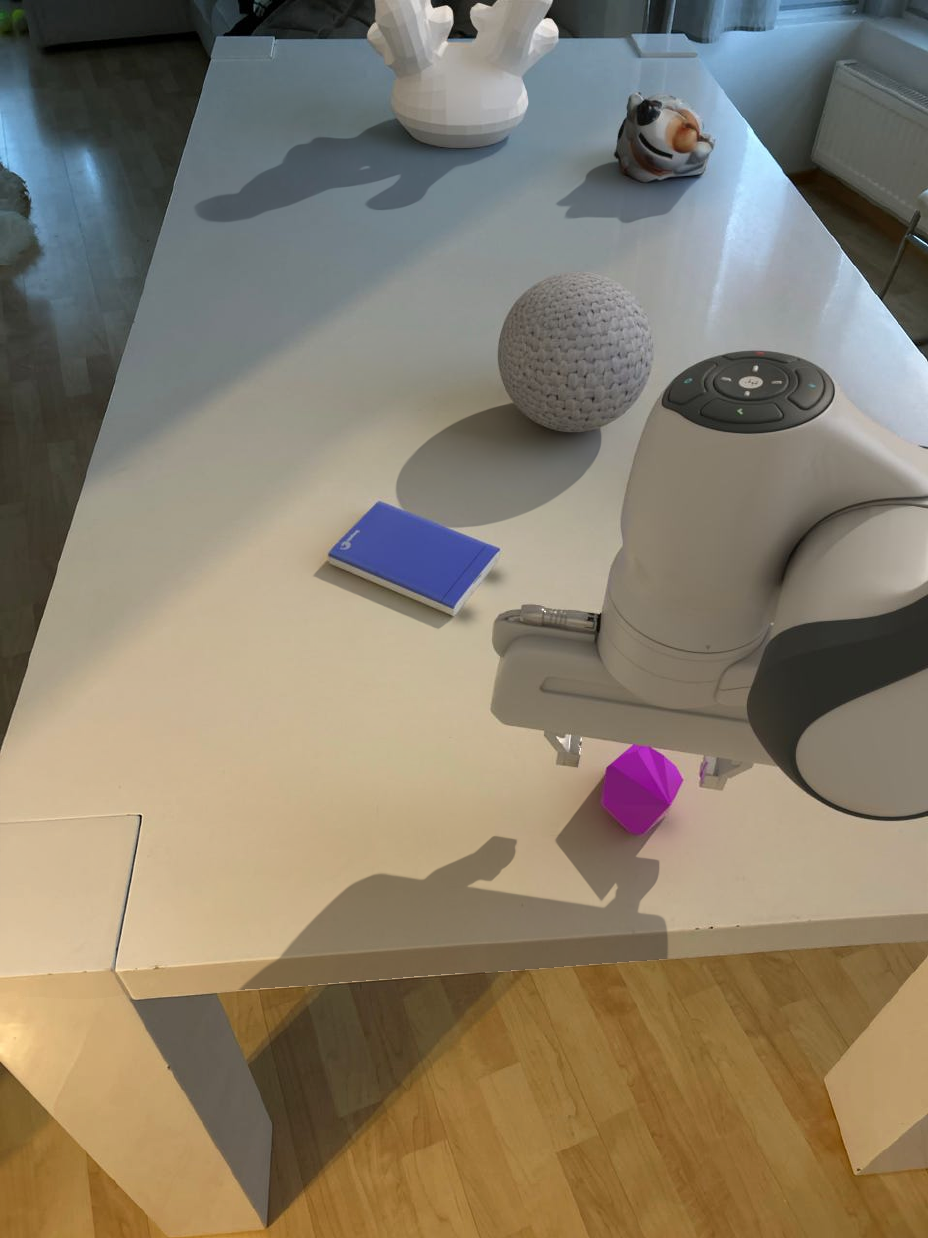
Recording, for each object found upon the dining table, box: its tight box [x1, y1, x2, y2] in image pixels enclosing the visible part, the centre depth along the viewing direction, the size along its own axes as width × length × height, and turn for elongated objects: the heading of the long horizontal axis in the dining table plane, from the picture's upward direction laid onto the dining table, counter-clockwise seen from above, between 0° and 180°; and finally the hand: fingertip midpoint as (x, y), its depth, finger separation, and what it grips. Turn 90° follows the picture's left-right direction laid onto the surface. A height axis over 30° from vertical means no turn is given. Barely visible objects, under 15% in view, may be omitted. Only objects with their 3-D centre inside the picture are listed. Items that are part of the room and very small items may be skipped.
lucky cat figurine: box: [613, 91, 716, 184], centre depth 136 cm, size 15×12×14 cm
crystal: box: [600, 744, 684, 835], centre depth 64 cm, size 5×5×5 cm
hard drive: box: [327, 500, 501, 617], centre depth 82 cm, size 2×8×12 cm
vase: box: [366, 0, 559, 149], centre depth 138 cm, size 29×22×35 cm
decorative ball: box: [497, 271, 654, 433], centre depth 92 cm, size 15×15×15 cm
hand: (638, 769), depth 63 cm, fingers open, 8 cm apart
